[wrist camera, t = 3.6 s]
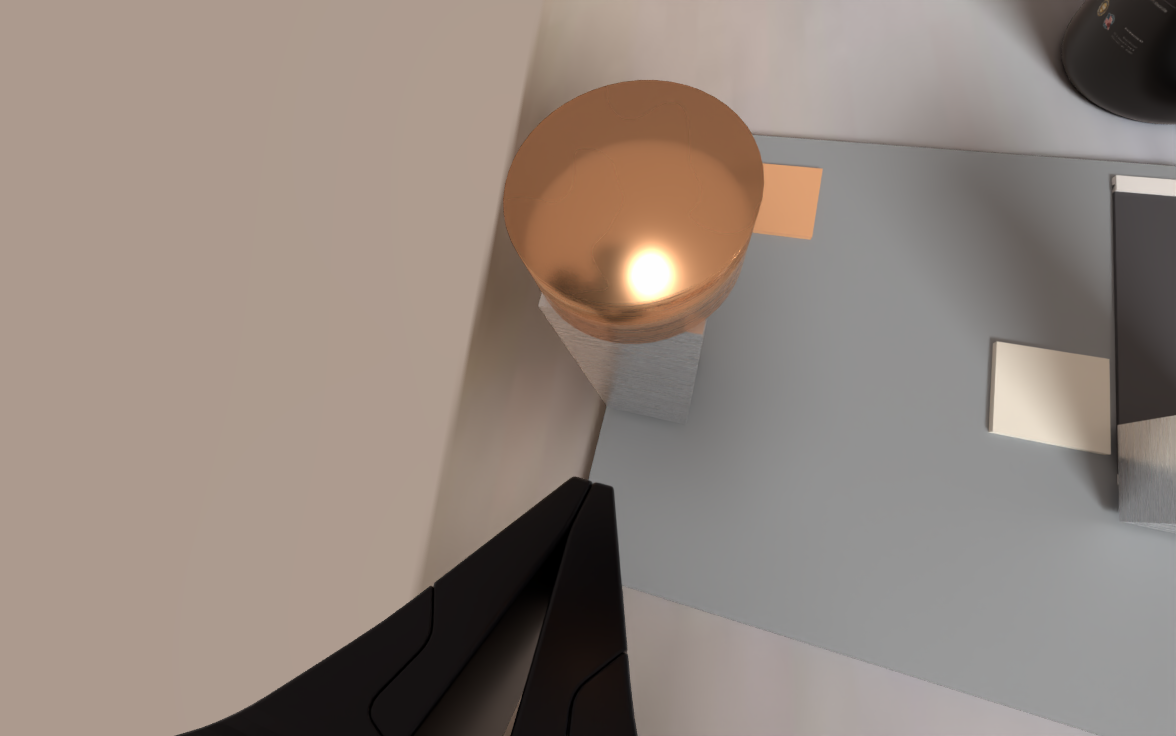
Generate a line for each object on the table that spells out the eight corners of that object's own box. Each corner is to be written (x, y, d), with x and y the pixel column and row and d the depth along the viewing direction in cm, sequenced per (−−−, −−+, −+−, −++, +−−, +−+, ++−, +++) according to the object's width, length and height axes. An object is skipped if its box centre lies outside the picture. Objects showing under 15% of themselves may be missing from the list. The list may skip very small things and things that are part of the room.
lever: (695, 438, 16) (738, 325, 6) (594, 415, 16) (471, 280, 6) (714, 340, 16) (782, 86, 6) (617, 323, 17) (541, 74, 7)
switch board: (1228, 770, 12) (1265, 789, 11) (570, 565, 16) (565, 568, 15) (1190, 180, 16) (1216, 164, 15) (675, 139, 20) (675, 125, 19)
